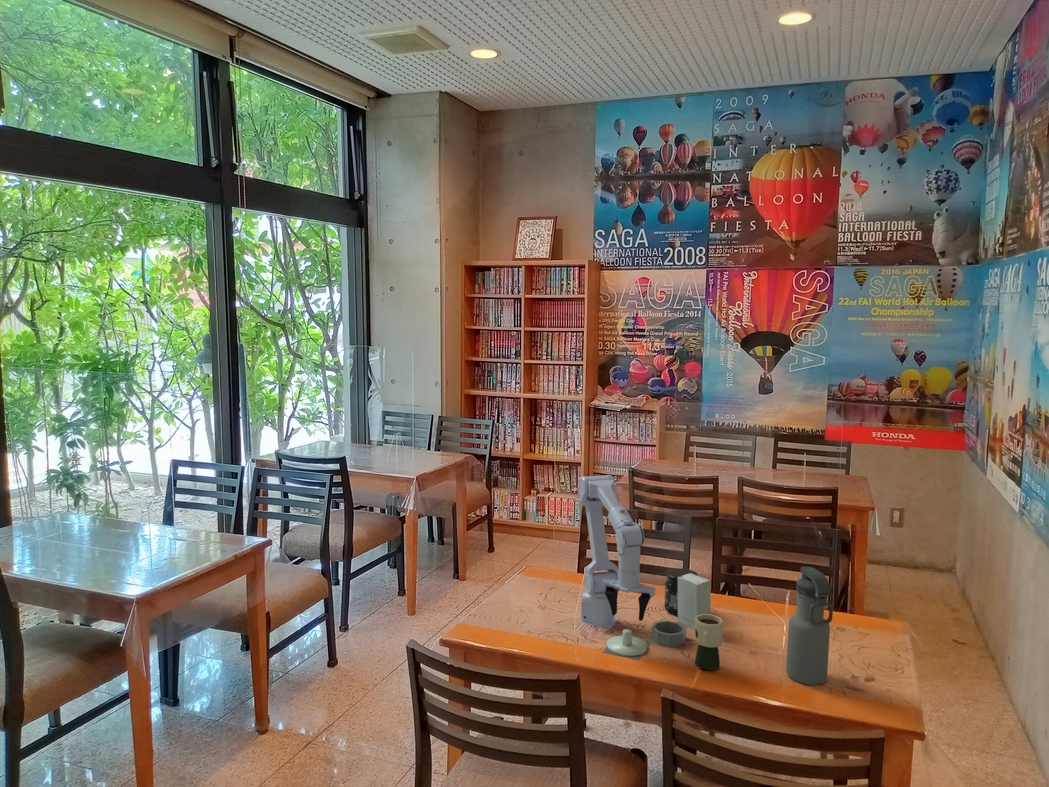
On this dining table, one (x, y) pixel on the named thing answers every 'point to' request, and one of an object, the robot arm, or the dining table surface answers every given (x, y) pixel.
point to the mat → (625, 656)
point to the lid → (627, 644)
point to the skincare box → (692, 599)
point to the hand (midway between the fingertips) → (627, 616)
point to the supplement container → (674, 588)
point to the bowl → (668, 633)
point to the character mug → (708, 640)
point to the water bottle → (809, 630)
